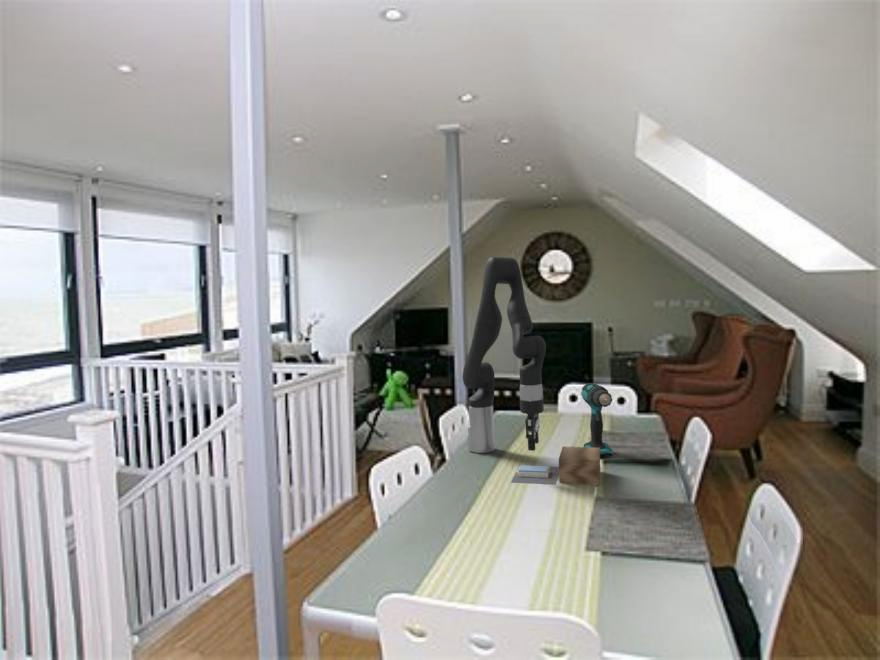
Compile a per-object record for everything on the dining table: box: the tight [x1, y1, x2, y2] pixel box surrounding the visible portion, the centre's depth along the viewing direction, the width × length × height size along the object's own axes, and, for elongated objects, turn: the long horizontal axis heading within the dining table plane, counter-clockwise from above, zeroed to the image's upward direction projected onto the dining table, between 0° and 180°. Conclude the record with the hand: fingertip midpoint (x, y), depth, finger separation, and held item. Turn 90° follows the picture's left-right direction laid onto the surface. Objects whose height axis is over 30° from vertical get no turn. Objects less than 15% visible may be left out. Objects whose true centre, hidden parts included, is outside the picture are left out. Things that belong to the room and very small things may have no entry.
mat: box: [510, 464, 559, 486], centre depth 203 cm, size 14×18×1 cm
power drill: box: [580, 382, 613, 455], centre depth 223 cm, size 26×9×25 cm, turn 179°
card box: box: [516, 464, 550, 478], centre depth 203 cm, size 10×6×2 cm, turn 74°
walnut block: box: [558, 446, 601, 487], centre depth 199 cm, size 12×14×8 cm
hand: (533, 446), depth 202 cm, fingers open, 8 cm apart
